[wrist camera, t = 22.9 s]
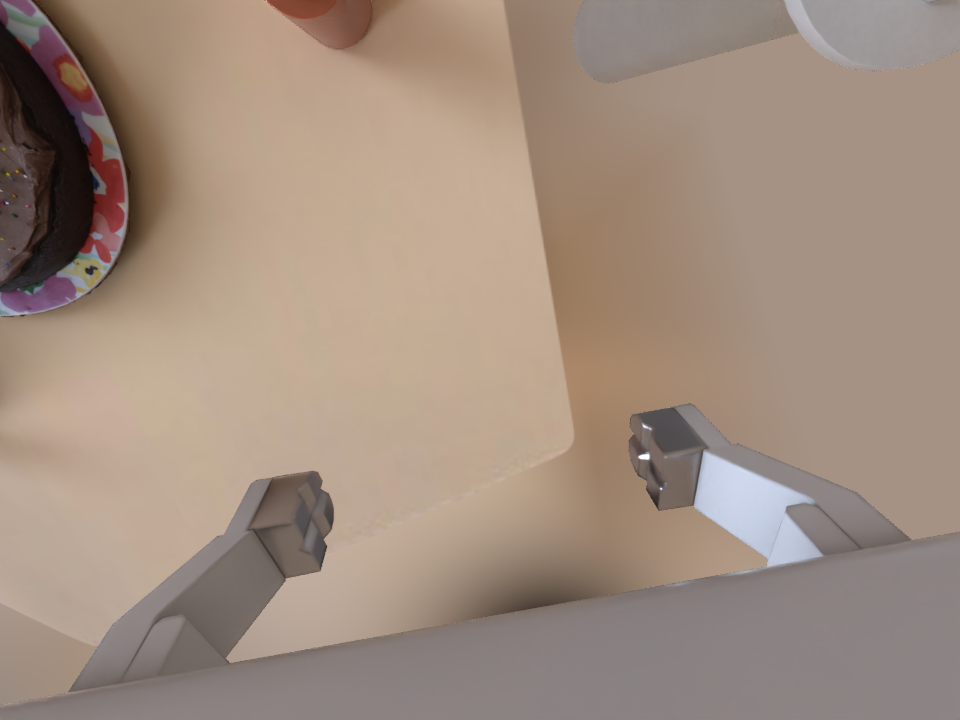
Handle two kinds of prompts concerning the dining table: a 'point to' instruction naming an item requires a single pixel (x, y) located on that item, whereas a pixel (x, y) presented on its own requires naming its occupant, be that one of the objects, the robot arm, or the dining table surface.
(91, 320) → the dining table surface
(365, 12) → the orange bottle
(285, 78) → the dining table surface
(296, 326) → the dining table surface
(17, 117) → the chocolate cake
